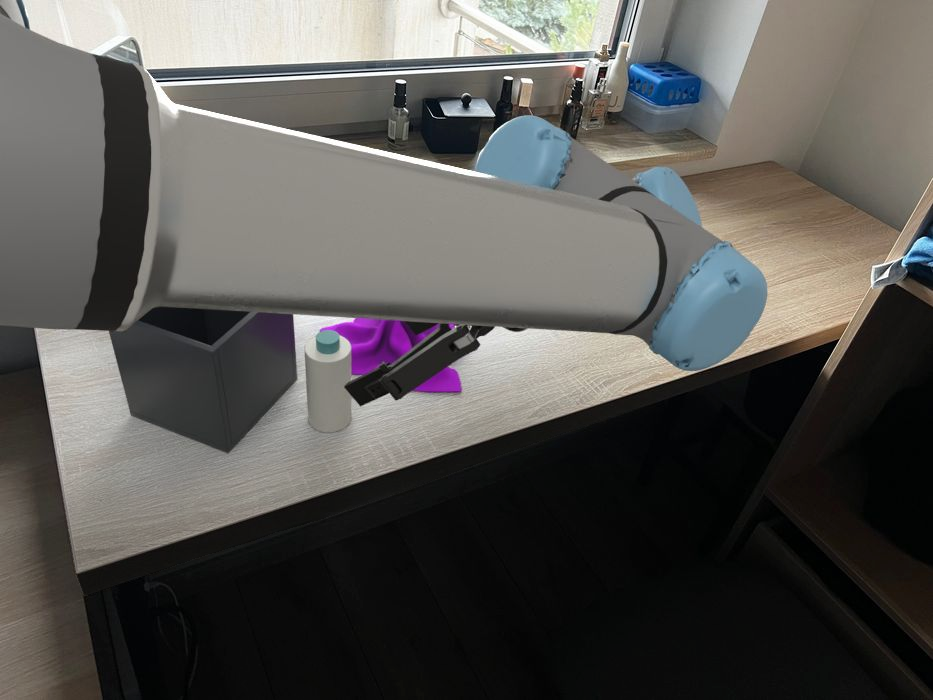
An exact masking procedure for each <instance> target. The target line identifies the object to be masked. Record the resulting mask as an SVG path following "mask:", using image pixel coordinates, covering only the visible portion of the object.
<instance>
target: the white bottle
mask: <svg viewBox="0 0 933 700" xmlns="http://www.w3.org/2000/svg"><path fill="white" fill-rule="evenodd" d="M303 348H304V350H303V351H304V365H305V384H306V385H305V387H306V406H307V420H308V424H309V425H310V426H311V427H312V428H313V429H314V430H317V431H319V432H321V433H336V432H339V431H342V430H344V429H345V428H347V427H348V425H349V424H350V423H351V421H352V396H351V395H350V394H349V393H348V391H347V390H346V389H345V388H344V386H345V385H346V384H347V383H348V382H350V381H352V374H351V344H350V343H349V341H348V340H347V339H346V338H344V337H342V336H340V335H339V334H338V333H337V332H335V331H332V330H324V331H321V332H320V331H319V332H317V334H316V335H314V336H313V337H310V338H309V339H308V340H307V341H306V343H305V344H304V347H303Z"/></svg>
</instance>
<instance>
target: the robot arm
mask: <svg viewBox="0 0 933 700" xmlns="http://www.w3.org/2000/svg"><path fill="white" fill-rule="evenodd" d="M767 283H768V282H767V280H766V277H765V275H764V274H763V272H762V270H761V269H760V268H759V267H758V266H757V265H756V264H754V263H753V262H752V261H750V260H749V259H748V258H747V257H745V256H744V255H743V254H742V253H741V252H740V251H738V250H737V249H736V248H735V247H734V246H733V244H732V243H731V242H730V241H728V240H724V241H723V240H722V239H721V238H719V237H717V236H716V235H714V234H713V233H712V232H710V231H709V230H707V229H705V228H704V227H703V224H702V219H701V215H700V212H699V209H698V206H697V203H696V201H695V199H694V197H693V195H692V192H691V191H690V189H689V187H688V186H687V185H686V183H685V182H684V180H683V179H682V178H681V176H679V175H678V174H677V172H675V170H673V169H672V168H670V167H668V166H655V167H652V168H650V169H649V170H645V171H643V172H641V171H640V172H638V173H637V174H635V176H634V177H632V178H631V177H629V176H627V175H626V174H624V173H623V172H622V171H621V170H619V169H617V168H616V167H614V166H613V165H611V164H610V163H608V162H607V161H605V160H604V159H602V158H601V157H600V156H598V155H597V154H595V153H594V152H592V151H590V150H589V148H587V147H585V145H583V144H581V143H579V142H578V141H577V140H576V139H575V138H573V137H572V136H571V135H570V133H569V132H567V131H565V130H563V128H562V127H557V126H555V125H553V124H552V123H551V122H549V121H547V120H546V119H544V118H542V117H539V116H537V115H521V116H517V117H515V118H512V119H510V120H508V121H506V122H505V123H503V124H502V125H500V126H499V127H498V128H497V129H496V130H495V131H494V132H493V133H492V134H491V135H490V136H489V139H488V141H487V142H486V143H485V146H484V147H483V148H482V149H481V150H480V152H479V154H478V157H477V160H476V163H475V167H474V170H470V169H469V170H468V169H464V168H460V167H455V166H452V165H447V164H442V163H438V162H434V161H429V160H424V159H421V158H416V157H412V156H407V155H402V154H398V153H393V152H390V151H385V150H380V149H376V148H371V147H367V146H363V145H358V144H355V143H350V142H346V141H341V140H336V139H332V138H328V137H323V136H319V135H315V134H309V133H305V132H301V131H296V130H292V129H287V128H283V127H280V126H279V127H278V126H275V125H271V124H265V123H261V122H257V121H252V120H248V119H243V118H239V117H234V116H230V115H225V114H221V113H216V112H214V111H213V112H212V111H208V110H204V109H199V108H196V107H195V108H194V107H190V106H186V105H182V104H177V103H174V102H173V101H171V100H170V98H169V97H168V96H167V94H166V93H165V92H164V91H163V89H162V88H161V86H159V84H158V83H157V81H156V80H155V79H154V77H152V75H151V74H150V73H149V71H148V70H147V68H146V67H144V66H142V65H140V64H135V63H133V62H129V61H124V60H120V59H117V58H111V57H107V56H104V55H100V54H95V53H91V52H88V51H85V50H82V49H79V48H77V47H72V46H70V45H66V44H64V43H60V42H58V41H56V40H53V39H51V38H49V37H48V36H47V37H46V36H45V35H42V34H40V33H38V32H36V31H33V30H31V28H30V21H29V15H28V10H27V8H26V5H25V4H24V1H23V0H0V326H6V327H7V326H8V327H19V328H30V329H43V330H67V331H68V330H70V331H71V330H72V331H73V330H80V331H103V332H109V331H125V330H127V329H128V328H129V327H130V326H131V325H133V324H134V323H135V322H136V321H138V320H139V319H140V318H141V317H142V316H144V315H145V314H146V313H147V312H149V311H150V310H151V309H152V308H155V307H160V306H163V307H179V308H196V309H213V310H229V311H246V312H262V313H279V314H293V315H298V316H315V317H330V318H344V319H345V318H347V319H355V318H362V319H379V320H395V321H405V323H406V324H407V325H408V326H409V328H410V329H411V330H412V331H413V333H414V334H415V335H418V334H420V333H422V332H424V331H426V330H428V329H430V328H432V327H434V326H436V325H438V328H437V329H436V330H435V331H434V332H432V333H431V334H430V335H428V336H427V337H426V338H425V339H423V340H422V341H421V342H419V343H418V344H417V345H416V346H414V347H413V348H412V349H410V350H409V351H408V352H407V353H405V354H404V355H403V356H401V357H400V358H399V359H398V360H396V361H395V362H394V363H392V364H390V362H387V363H384V361H383V362H381V363H380V365H379V367H378V368H376V369H374V370H372V371H370V372H368V373H366V374H364V375H359V376H358V377H355V378H353V379H351V381H350V382H348V383H347V384H346V385H345V386H344V388H345V389H346V390H347V391H348V393H349V394H350V395H351V398H352V399H353V400H354V401H355V402H356V404H357V405H359V408H360V407H363V406H365V405H367V404H369V403H371V402H374V401H376V400H378V399H380V398H382V397H384V396H386V395H388V394H389V395H390V396H392V398H393V399H394V401H396V402H397V401H399V400H401V399H403V398H404V397H405V396H407V395H408V394H409V393H412V392H413V391H414V389H415V388H417V387H418V386H420V385H421V384H423V383H424V382H426V381H427V380H429V379H430V378H432V377H433V376H435V375H436V374H437V373H439V372H440V371H442V370H443V369H445V368H446V367H448V366H449V367H450V366H451V365H452V364H453V363H455V362H457V361H458V360H460V359H462V358H464V357H465V356H467V355H469V354H471V353H473V352H475V351H477V350H478V349H479V348H480V347H481V345H482V344H481V342H479V340H478V339H479V338H480V337H485V336H486V335H488V334H489V333H490V332H492V331H493V330H494V329H495V328H496V327H497V328H503V329H505V330H506V331H509V332H514V333H520V332H524V331H526V330H528V329H529V330H545V331H546V330H549V331H560V332H561V331H564V332H578V333H579V332H580V333H594V334H595V333H598V334H610V335H616V336H633V337H636V338H639V339H640V340H642V341H643V342H644V343H645V344H646V345H647V346H648V348H649V350H650V351H651V352H652V353H653V354H654V355H659V356H660V357H662V358H663V359H664V360H666V361H667V362H668V363H670V364H671V365H673V367H675V368H677V369H679V370H682V371H686V372H698V371H703V370H706V369H708V368H711V367H713V366H715V365H717V364H719V363H721V362H722V361H724V360H725V359H727V358H728V357H730V355H732V354H733V353H734V352H735V351H736V350H738V349H739V348H740V347H741V346H742V345H743V344H744V342H745V341H746V340H747V339H748V338H749V337H750V335H751V333H752V331H753V330H754V329H755V327H756V325H757V324H758V323H759V321H760V319H761V317H762V315H763V313H764V310H765V307H766V304H767V300H768V284H767ZM449 324H454V326H455V327H453V328H452V329H451V328H450V327H449Z"/></svg>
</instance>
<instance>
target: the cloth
mask: <svg viewBox="0 0 933 700" xmlns="http://www.w3.org/2000/svg"><path fill="white" fill-rule="evenodd" d="M449 327H450V328H451V329H452V328H453V327H455V326H454V324H449ZM437 328H438V325H436V326H434V327H432V328H430V329H428V330H426V331H424V332H422V333H420V334H418V335H415V334H414V333H413V331H412V330H411V329H410V328H409V326H408V325H407V324H406V323H405V321H395V320H379V319H362V318H353V321H344V322H340V323H337V324H336V323H335V324H333V325H330V326H326V327H322V328H320V329H319V332H321V331H324V330H332V331H335V332H337V333H338V334H339V335H340V336H342V337H344V338H346V339H347V340H348V341H349V343H350V344H351V375H357V376H362V375H364V374H366V373H368V372H370V371H372V370H374V369H376V368H378V367H379V365H380V363H381V362H383V361H384V363H387V362H390V364H392V363H394V362H395V361H396V360H398V359H399V358H400V357H401V356H403V355H404V354H405V353H407V352H408V351H409V350H410V349H412V348H413V347H414V346H416V345H417V344H418V343H419V342H421V341H422V340H423V339H425V338H426V337H427V336H428V335H430V334H431V333H432V332H434V331H435V330H436V329H437ZM413 391H415V392H421V393H422V392H423V393H460V392H462V385H461V379H460V375H459V373H458V370H456V369H455V368H451V367H450V365H449V366H448V367H446V368H445V369H443V370H442V371H440V372H439V373H437V374H436V375H435V376H433V377H432V378H430V379H429V380H427V381H426V382H424V383H423V384H421V385H420V386H418V387H417V388H415V389H414V390H413Z"/></svg>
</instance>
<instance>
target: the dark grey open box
mask: <svg viewBox="0 0 933 700" xmlns="http://www.w3.org/2000/svg"><path fill="white" fill-rule="evenodd" d="M108 335H109V337H110V341H111V342H110V343H111V345H112V349H113V353H114V356H115V361H116V364H117V368H118V372H119V375H120V379H121V382H122V387H123V391H124V395H125V399H126V402H127V403H126V404H127V407H128V409H129V414H130V416H132V417H135V418H137V419H139V420H142V421H144V422H147V423H150V424H152V425H155V426H157V427H160V428H163V429H165V430H166V431H169V432H173V433H175V434H177V435H180V436H183V437H185V438H188V439H190V440H194V441H195V442H198V443H201V444H203V445H206V446H208V447H211V448H213V449H217V450H219V451H221V452H224V453H226V454H229V453H230V452H231V451H232V450H233V449H234V448H235V447H236V446H237V445H238V443H239V442H241V440H242V439H244V437H245V436H246V435H247V434H248V433H249V432H250V430H251V429H252V428H254V426H255V425H256V424H257V423H258V421H260V420H261V419H262V418H263V416H265V415H266V414H267V413H268V411H269V410H270V409H271V408H272V407H273V406H274V405H275V403H277V401H278V400H279V399H280V398H281V397H282V396H283V395H284V394H285V393H286V392H287V391H288V390H289V389H290V388H291V387H292V386H293V384H294V383H295V382H296V381H297V380H298V369H297V368H298V367H297V366H298V365H297V351H296V337H295V335H296V334H295V319H294V314H279V313H262V312H246V311H229V310H213V309H196V308H179V307H163V306H160V307H155V308H152V309H151V310H150V311H149V312H147V313H146V314H145V315H144V316H142V317H141V318H140V319H139V320H138V321H136V322H135V323H134V324H133V325H131V326H130V327H129V328H128V329H127V330H125V331H108Z"/></svg>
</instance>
